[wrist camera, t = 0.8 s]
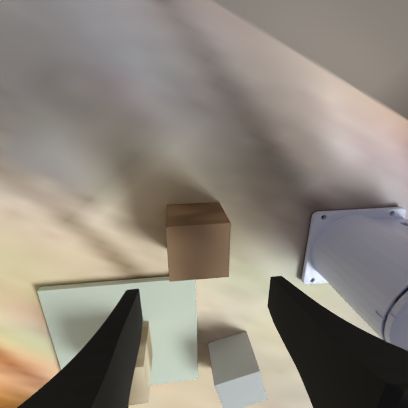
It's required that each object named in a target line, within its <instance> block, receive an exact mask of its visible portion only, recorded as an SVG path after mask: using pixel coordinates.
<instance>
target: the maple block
mask: <svg viewBox="0 0 408 408" xmlns="http://www.w3.org/2000/svg"><path fill="white" fill-rule="evenodd" d="M152 357H153V353H152V344H151V335H150V326H149V322H143V323H142V333H141V341H140V346H139V351H138V356H137V361H136V366H135V371H134V376H133V381H132V385H131V391H130V397H129V405H135V404H142V403H148V402H149V390H150V379H151V368H152Z"/></svg>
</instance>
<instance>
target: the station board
mask: <svg viewBox="0 0 408 408" xmlns="http://www.w3.org/2000/svg"><path fill="white" fill-rule="evenodd" d="M129 289H139V292H140V300H141V308H142V316H143V322H149V326H150V335H151V344H152V353H153V357H152V368H151V379H150V385H158V384H165V383H173V382H180V381H188V380H195V379H198V355H197V311H196V280H184V281H172V282H169V276H165V277H153V278H141V279H128V280H116V281H104V282H92V283H80V284H68V285H55V286H43V287H40V288H39V289H38V291H37V293H38V296H39V299H40V303H41V306H42V309H43V312H44V316H45V319H46V322H47V325H48V329H49V332H50V335H51V338H52V341H53V345H54V348H55V351H56V354H57V358H58V361H59V364H60V367H61V370H62V369H63V368H64V367H65V366H66V365H67V364H68V363H69V362H70V361H71V360H72V359H73V358H74V357H75V356H76V355H77V354H78V353H79V351H80V350H81V349H82V348H83V347H84V346H85V345H86V344H87V343H88V341H89V340H90V339H91V338H92V337H93V336H94V334H95V333H96V332H97V331H98V329H99V328H100V327H101V326H102V324H103V323H104V322H105V320H106V319H107V318H108V316H109V315H110V314H111V312H112V311H113V309H114V308H115V306H116V305H117V304H118V302H119V301H120V299H121V297H122V296H123V294H124V293H125V291H126V290H129Z"/></svg>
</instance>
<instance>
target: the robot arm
mask: <svg viewBox="0 0 408 408" xmlns="http://www.w3.org/2000/svg"><path fill="white" fill-rule="evenodd" d="M390 212H391V213H390ZM405 213H406V210H405V208H402V207H389V208H371V209H352V210H334V211H317V212H315V213H313V215H312V218H311V224H310V230H309V236H308V242H307V248H306V255H305V261H304V267H303V273H302V282H303V283H304V284H317V283H327V282H328V283H329V284H330V285H331V286H332V287H333V288H334V289H335V290H336V291H337V293H338V294H339V295H340V296H341V297H342V298H343V299H344V300H345V301H346V302H347V303H348V304H349V305H350V306H351V307H352V308H353V309H354V310H355V311H356V313H357V314H358V315H359V316H360V317H361V318H362V319H363V320H364V321H365V322H366V323H367V324H368V325H369V326H370V327H371V328H372V329H373V330H374V331H375V332H376V334H377V335H378V336H379V337H380V338H381V339H380V338H378V337H375V336H373V335H371V334H369V333H367V332H365V331H363V330H361V329H360V328H358V327H356V326H354V325H352V324H350V323H349V322H347V321H345V320H343V319H342V318H340V317H338V316H337V315H335V314H334V313H332V312H330V311H329V310H327V309H326V308H324V307H323V306H321V305H320V304H318V303H317V302H316V301H314V300H313V299H311V298H310V297H309V296H307V295H306V294H305V293H303V292H302V291H301V290H299V289H298V288H297V287H295V286H294V285H293V284H291V283H290V282H289V281H287V280H286V279H285V278H283V277H282V276H276V277H271V280H270V289H269V298H268V308H269V311H270V314H271V317H272V319H273V322H274V324H275V326H276V328H277V330H278V332H279V334H280V336H281V338H282V340H283V342H284V344H285V346H286V348H287V350H288V352H289V354H290V356H291V357H292V359H293V361H294V363H295V365H296V367H297V369H298V372H299V374H300V376H301V378H302V381H303V383H304V386H305V388H306V390H307V393H308V395H309V398H310V400H311V403H312V406H313V408H408V220H407V219H404V217H405ZM323 215H324V217H323V218H321V217H322V216H323ZM310 279H311V280H310ZM142 323H143V316H142V308H141V300H140V292H139V289H129V290H126V291H125V293H124V294H123V296H122V297H121V299H120V301H119V302H118V304H117V305H116V306H115V308H114V309H113V311H112V312H111V314H110V315H109V316H108V318H107V319H106V320H105V322H104V323H103V324H102V326H101V327H100V328H99V329H98V331H97V332H96V333H95V334H94V336H93V337H92V338H91V339H90V340H89V341H88V343H87V344H86V345H85V346H84V347H83V348H82V349H81V350H80V351H79V353H78V354H77V355H76V356H75V357H74V358H73V359H72V360H71V361H70V362H69V363H68V364H67V365H66V366H65V367H64V368H63V369H62V370H61V371H60V372H59V373H58V374H56V375H55V376H54V377H53V378H52V379H51V380H50V381H49V382H48V383H46V384H45V385H44V386H43V387H42V388H41V389H39V390H38V391H37V392H36V393H35V394H34V395H32V396H31V397H30V398H29V399H28V400H26V401H25V402H24V403H23V404H21V405H20V406H19V407H17V408H128V405H129V397H130V391H131V385H132V381H133V376H134V371H135V366H136V361H137V356H138V351H139V346H140V341H141V333H142Z"/></svg>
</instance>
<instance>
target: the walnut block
mask: <svg viewBox="0 0 408 408" xmlns="http://www.w3.org/2000/svg"><path fill="white" fill-rule="evenodd" d="M230 226H231V223H230V221H229V219H228V217H227V216H226V214H225V212H224V210H223V208H222V207H221V205H220V203H219V202H216V203H195V204H174V205H167V215H166V239H167V254H168V268H169V282H172V281H184V280H196V279H208V278H219V277H229V255H230Z"/></svg>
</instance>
